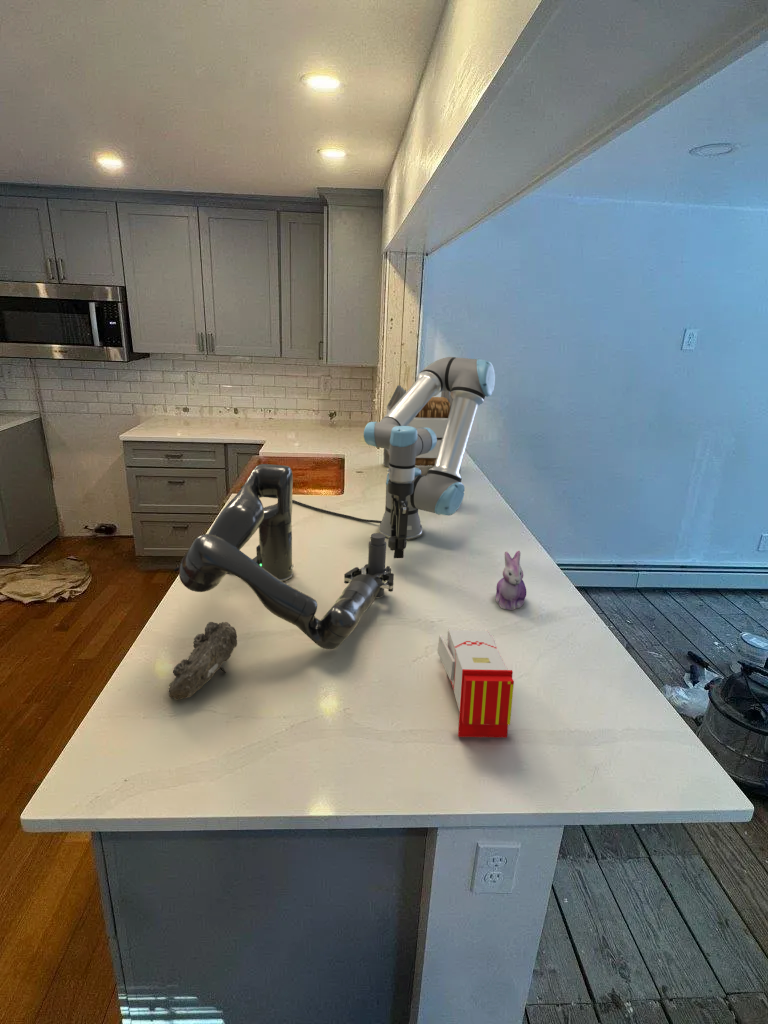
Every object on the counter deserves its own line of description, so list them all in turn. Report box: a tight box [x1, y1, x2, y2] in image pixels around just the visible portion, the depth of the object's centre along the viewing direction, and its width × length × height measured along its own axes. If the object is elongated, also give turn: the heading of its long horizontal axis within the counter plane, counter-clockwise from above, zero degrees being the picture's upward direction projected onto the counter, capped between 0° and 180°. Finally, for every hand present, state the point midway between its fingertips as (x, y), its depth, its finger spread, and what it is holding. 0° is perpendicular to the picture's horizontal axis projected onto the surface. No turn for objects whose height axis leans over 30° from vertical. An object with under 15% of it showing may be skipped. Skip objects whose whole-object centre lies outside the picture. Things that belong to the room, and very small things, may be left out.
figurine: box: [495, 550, 527, 611], centre depth 153 cm, size 9×10×15 cm
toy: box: [437, 628, 515, 738], centre depth 117 cm, size 12×13×30 cm
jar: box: [367, 532, 387, 599], centre depth 154 cm, size 5×5×18 cm
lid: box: [387, 536, 407, 551], centre depth 171 cm, size 5×6×2 cm
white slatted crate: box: [383, 384, 462, 476], centre depth 268 cm, size 34×33×41 cm
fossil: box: [167, 621, 238, 701], centre depth 119 cm, size 22×10×15 cm
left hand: (379, 567), depth 157 cm, fingers closed on jar, 4 cm apart
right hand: (396, 553), depth 172 cm, fingers closed on lid, 5 cm apart
